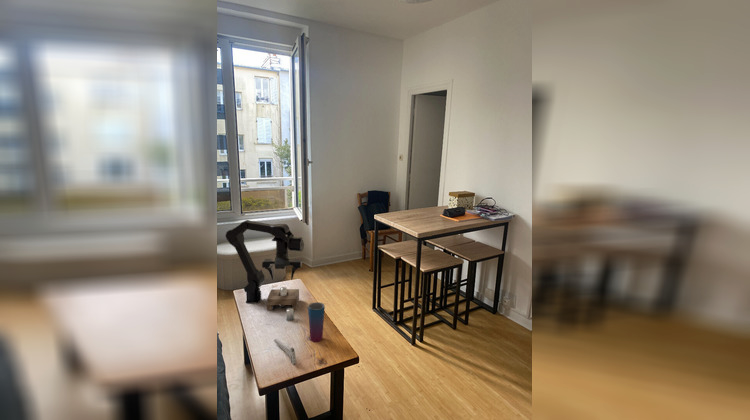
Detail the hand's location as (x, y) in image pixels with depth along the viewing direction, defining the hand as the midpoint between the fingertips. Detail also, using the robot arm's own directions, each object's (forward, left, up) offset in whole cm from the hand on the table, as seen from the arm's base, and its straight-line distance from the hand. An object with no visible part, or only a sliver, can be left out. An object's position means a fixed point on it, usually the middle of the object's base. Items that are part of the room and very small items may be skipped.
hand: (282, 279), depth 186 cm
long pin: (+1, -2, -13) cm, 13 cm away
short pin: (+6, -17, -13) cm, 22 cm away
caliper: (+7, -44, -13) cm, 47 cm away
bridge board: (+1, -2, -13) cm, 13 cm away
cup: (+19, -35, -13) cm, 42 cm away
